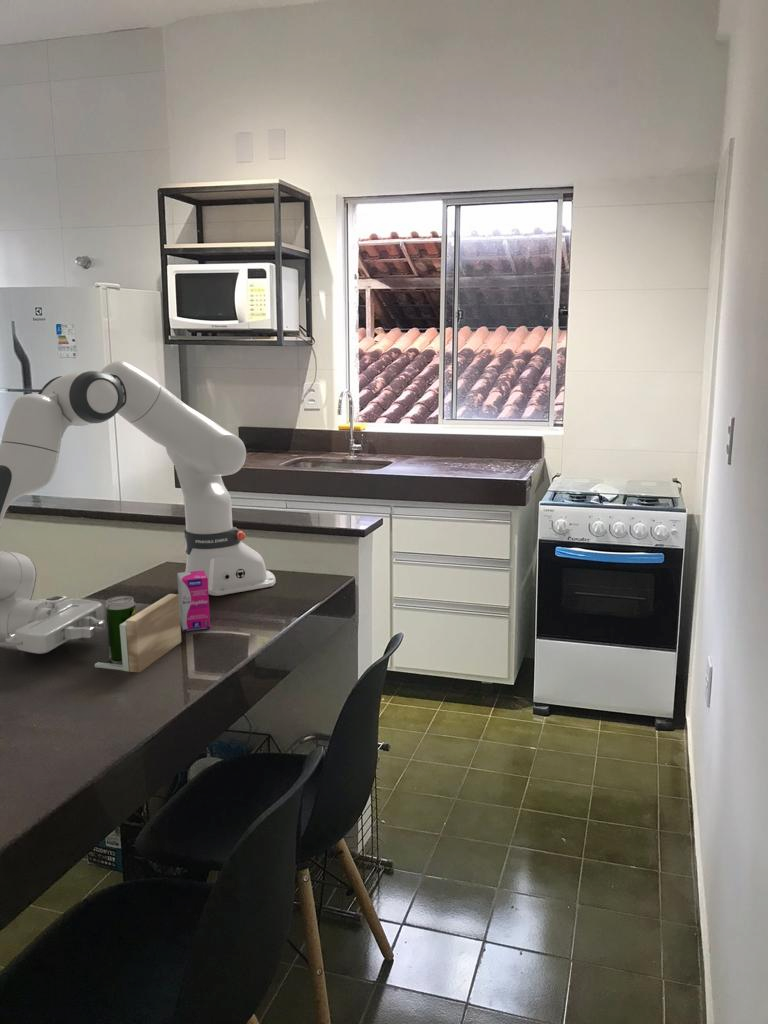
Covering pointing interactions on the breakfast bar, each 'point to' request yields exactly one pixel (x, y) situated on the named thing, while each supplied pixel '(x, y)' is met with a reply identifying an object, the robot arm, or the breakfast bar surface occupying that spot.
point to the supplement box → (193, 600)
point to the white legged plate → (124, 653)
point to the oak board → (153, 632)
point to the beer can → (117, 623)
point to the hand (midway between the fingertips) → (97, 629)
